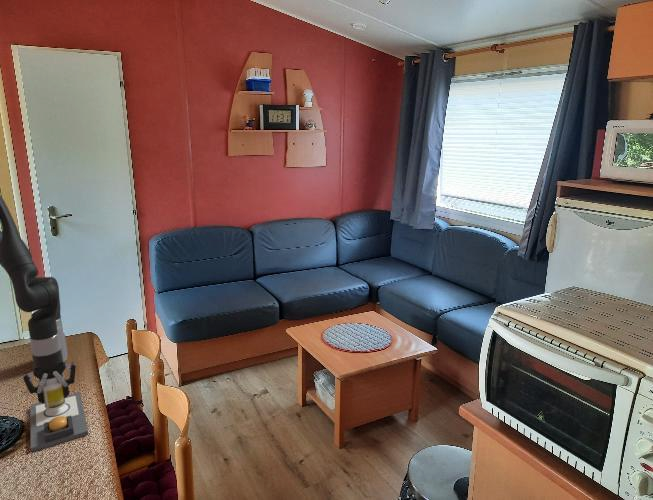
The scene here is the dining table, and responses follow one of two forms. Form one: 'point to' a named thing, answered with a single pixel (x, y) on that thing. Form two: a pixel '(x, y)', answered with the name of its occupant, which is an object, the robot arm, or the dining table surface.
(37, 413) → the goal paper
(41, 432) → the charcoal board
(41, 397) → the robot arm
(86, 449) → the dining table surface
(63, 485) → the dining table surface
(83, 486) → the dining table surface
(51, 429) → the button
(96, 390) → the dining table surface
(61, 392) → the supplement bottle
